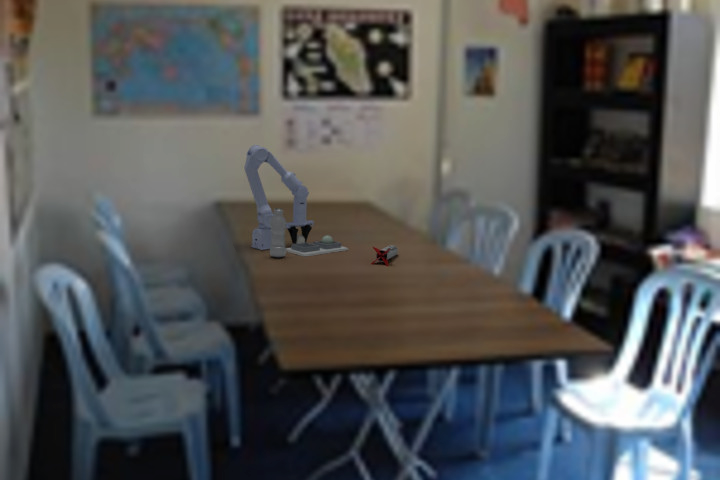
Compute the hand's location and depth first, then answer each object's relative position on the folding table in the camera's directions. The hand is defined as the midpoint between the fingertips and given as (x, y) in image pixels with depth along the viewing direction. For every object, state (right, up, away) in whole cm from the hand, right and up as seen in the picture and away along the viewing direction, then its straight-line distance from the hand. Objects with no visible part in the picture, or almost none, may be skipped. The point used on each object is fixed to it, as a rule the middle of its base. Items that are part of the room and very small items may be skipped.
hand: (299, 242), depth 378 cm
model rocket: (+38, -7, -22) cm, 44 cm away
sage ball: (+13, +1, -5) cm, 14 cm away
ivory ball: (0, +1, 0) cm, 1 cm away
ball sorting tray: (+8, -3, -8) cm, 12 cm away
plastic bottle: (-7, -6, -24) cm, 26 cm away
